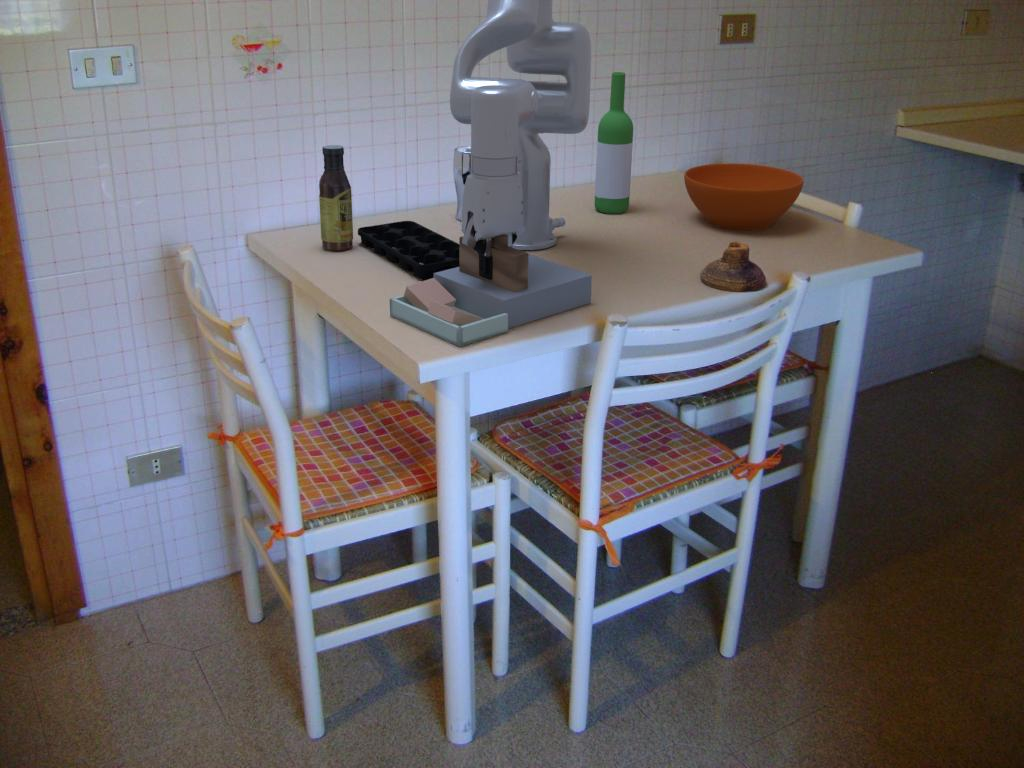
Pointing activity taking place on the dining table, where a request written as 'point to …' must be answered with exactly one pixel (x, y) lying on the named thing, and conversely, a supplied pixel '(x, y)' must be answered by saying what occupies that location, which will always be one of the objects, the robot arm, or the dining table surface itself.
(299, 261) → the dining table surface
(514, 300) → the board
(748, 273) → the bell
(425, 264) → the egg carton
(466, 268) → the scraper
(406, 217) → the dining table surface
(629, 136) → the wine bottle
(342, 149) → the sauce bottle
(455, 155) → the beer glass
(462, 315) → the tile
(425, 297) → the tile
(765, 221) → the bowl
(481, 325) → the tray
